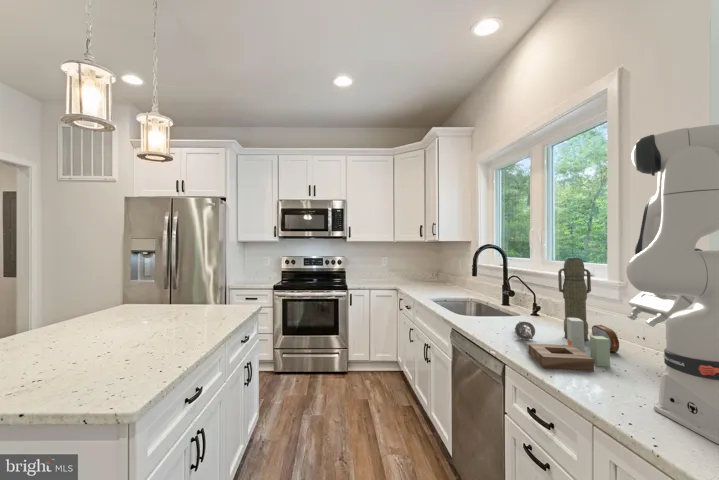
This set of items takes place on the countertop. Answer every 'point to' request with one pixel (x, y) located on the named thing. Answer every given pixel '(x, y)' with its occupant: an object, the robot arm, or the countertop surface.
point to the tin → (607, 336)
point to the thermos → (575, 291)
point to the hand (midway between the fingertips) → (639, 321)
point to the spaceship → (525, 330)
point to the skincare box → (575, 333)
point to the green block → (600, 350)
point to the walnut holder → (560, 357)
